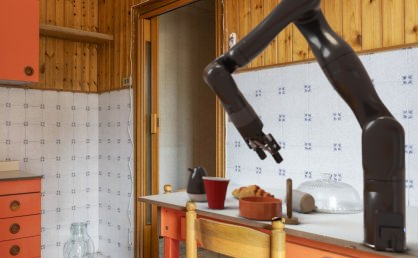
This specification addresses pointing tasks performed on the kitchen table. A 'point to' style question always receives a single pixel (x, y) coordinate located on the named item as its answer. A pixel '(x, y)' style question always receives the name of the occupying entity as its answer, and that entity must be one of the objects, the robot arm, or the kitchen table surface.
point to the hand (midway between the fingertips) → (272, 160)
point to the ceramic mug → (302, 202)
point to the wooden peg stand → (289, 204)
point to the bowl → (260, 207)
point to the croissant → (250, 192)
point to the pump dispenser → (196, 184)
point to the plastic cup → (216, 191)
